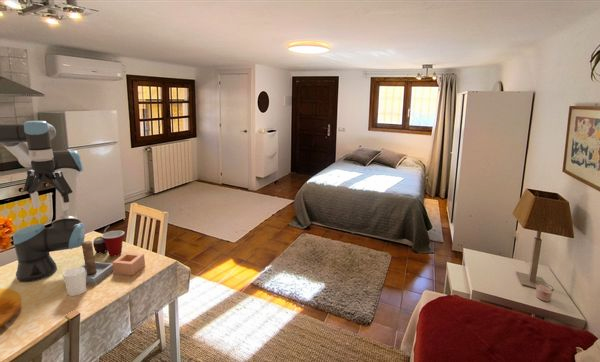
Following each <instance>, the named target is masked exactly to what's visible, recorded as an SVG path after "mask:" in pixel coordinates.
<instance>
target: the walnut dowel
mask: <svg viewBox="0 0 600 362" xmlns="http://www.w3.org/2000/svg"><path fill="white" fill-rule="evenodd" d="M81 249H82V253H83V259H84V264H85V267H86V272H87V275H94V274H96V273H97V271H96V265H95V262H96V259H95V255H94V252H95V251H94V246H93V241H91V240H86V241H85V240H84V242H83V243H82V246H81Z"/></svg>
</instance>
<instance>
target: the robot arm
mask: <svg viewBox="0 0 600 362" xmlns="http://www.w3.org/2000/svg"><path fill="white" fill-rule="evenodd" d="M56 135H57V131H56V128H55V126H54V125H52V124H50V123H48V122H47V121H46V120H27V121H24V123H11V124H10V123H8V124H6V123H0V145H2V146H3V147H4V148H5V149H6V150H7V151H8V152H10V153H11V154H12V155H13V156H14V157H15V158H16V159H17V161H18V163H19V164H20V166H22V167H23V168H25V169H27V171H26V175H27V176H26V179H25V183H24V187H23V192H24V193H25V192H26V193H28V195H29V199H30V201H31V205H32V209H38V208H40V207H41V202H40V198H39V192H38V191H37V190H38V188H39V186H40V185H41V183H49V185H50V184H51V185H52V186H53V187H54V188H55V220H53V221H52V222H51V226H49V227H45V225H44V224H42V223H41V224H38V223H37V224H33V225H29V226H25V227H22V228H19V230H17V231H15V232H14V234H13V236H12V239H13V245H14V249H15V254H16V258H17V268H16V272H15V278H16V280H17V281H18V282H21V283H31V282H35V281H40V280H43V279H46V278H48V277H49V276H50V277H51V276H52V275H53V274H55V272H57V270H58V267H57V263H56V262H55V260H54V259H53V258H52V256H51V254H50V252H51V253H52V252H58V251H59V252H60V251H65V250H72V249H75V248H80V247H82V243H83V242H85V238H86V237H85V236H86V227H85V223H83V222H82V221H81V219H79V218H78V203H77V202H78V200H77V199H78V198H77V197H78V196H77V195H78V194H77V178H78V177H79V176H80V173H81V172H83V171H84V167H83V161H82V158H81V155H80V153H79V151H77V150H70V149H68V150H53V147H52V140H53V139H54V138H55V137H56Z"/></svg>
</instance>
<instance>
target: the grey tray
mask: <svg viewBox="0 0 600 362" xmlns="http://www.w3.org/2000/svg"><path fill="white" fill-rule="evenodd" d="M95 265H96V271H97V273H96V274H94V275H87V272H86V267H85V263H83V264H82V265H80V266H79V267H84V268H85V275H86V285H96V284H97V283H99V282H101V280H103V279H104V278H106V277H107V276H109V274H111V273H113V272H114V271H113V264H112V262H104V261H103V262H102V261H95Z"/></svg>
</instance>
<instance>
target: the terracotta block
mask: <svg viewBox="0 0 600 362" xmlns="http://www.w3.org/2000/svg"><path fill="white" fill-rule="evenodd" d="M111 263H112V264H113V271H112V272H113V274H116V275H124V276H125V275H127V276H128V275H130V276H134V275H135V274H136V273H138V272H139V271H140V270H141V269H142V268H143V267H144V266H146V261H145V254H144V253H135V252H124V253H123V254H120V255H119V257H118V258H116V259H115V260H113V261H112V262H111Z"/></svg>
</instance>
